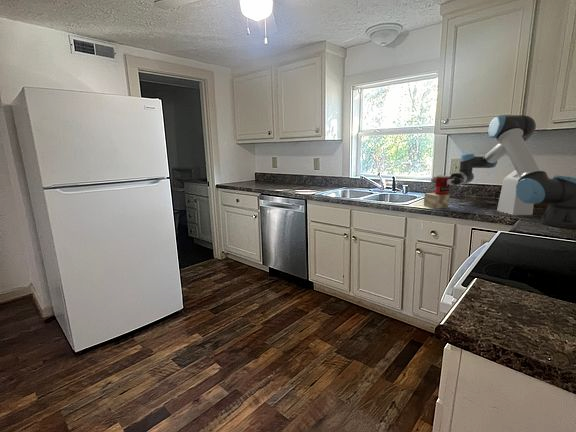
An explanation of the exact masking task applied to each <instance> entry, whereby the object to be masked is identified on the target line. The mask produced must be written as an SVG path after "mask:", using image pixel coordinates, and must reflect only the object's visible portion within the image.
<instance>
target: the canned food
mask: <svg viewBox="0 0 576 432" xmlns="http://www.w3.org/2000/svg"><path fill="white" fill-rule="evenodd" d="M435 177H436V183H435V190H434V193H436V194H440V195H447V194H448V195H450V194H449V193H450V185H451V184H447V180H449V179H450V175H444V174H442V175H439V174H438V175H436V176H435Z"/></svg>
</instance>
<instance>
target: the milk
mask: <svg viewBox="0 0 576 432" xmlns="http://www.w3.org/2000/svg"><path fill="white" fill-rule="evenodd" d="M518 180H519V176H518V174H517V172H516V170H515V169H514V170H513V171H511V172H510V173H509V174H508V175H506V176H505V177H504V178H503V181H502V185H501V189H500V195H499V199H498V204H497V207H496V208H497V209H496V211H497V212H500V213H503V212H504V213H503V214H506V213H508V214H507V215H510V214H511V215H510V216H532V215H533V213H534V205H535V204H532V203H525V202H523V201H521V200H520V199H519V198H518V197H517V194H516V190H517V189H516V185H517V183H518Z"/></svg>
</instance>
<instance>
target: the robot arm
mask: <svg viewBox="0 0 576 432" xmlns="http://www.w3.org/2000/svg"><path fill="white" fill-rule="evenodd" d="M536 128H537V124H536V121H535V120H534V118H532V117H531V116H530V115H525V114H522V115H521V114H519V115H517V114H515V115H513V114H512V115H511V114H502V115H501V114H500V115H496V116H495V117H493V119H491V121H490V123H489V126H488V130H487V131H488V133H487V134H488V137H489V138H491V139H496V141H497V144H496V145H495V146H494V147H493V148H491V149H490V150H489V151H488V152H487V153H486V154H485V155H483V156H482V155H481V156H476V155H475V154H474V153H462V154H461V155H460V156H461V157H460V161H459V170H458V172H452V174H450V175H449V176H450V179H449V180H447V184H450V185H453V186H454V185H455V186H460V185H462V184H469V183H471V182H472V181H473V180H474V179H475V175H474V172H473V169H491V168H495V167H496V166H497V165H498V161H499V160H500V159H501V158H503V157H504V156H505V155H506V154H507V155H508V158H509V159H510V162H511V163H512V165H513V167H514V170H516V172H517V174H518V176H519V180H518V183H517V185H516V189H517V190H516V194H517V197H518V198H519V199H520V200H521V201H523V202H525V203H532V204H534V205H538V204H548V205H547V208H546V210H545V212H544V213H543V214H542V216H541V219H540V223H541V224H543V225H546V226H549V227H550V226H552V227H556V228H562V229H563V228H564V229H576V177H574V176H573V177H572V176H566V175H558V174H557V175H556V174H555V175H554V176H553V177H552V178H550V177H549V176H548V173H547V172H546V171H544V170H541V169H540V167H539V165H538V164H537V162H536V160H535V159H534V158H535V157H534V156H533V154H532V153H531V150H530V149H529V147H528V145H527V144H526V141H527V140H529V139H530V138H531V137H532V136H533V135H534V133H535V131H536ZM436 177H437V176H433V177H432V178H430V183H431V184H432V183H434V184H436Z"/></svg>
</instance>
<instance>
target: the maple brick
mask: <svg viewBox="0 0 576 432" xmlns="http://www.w3.org/2000/svg"><path fill="white" fill-rule="evenodd" d="M450 196H451V194H447V195H440V194H436V193H435V192H424V198H423V206H424V207H428V208H431V209H447V208H449V206H450V205H449V204H450Z"/></svg>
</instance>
